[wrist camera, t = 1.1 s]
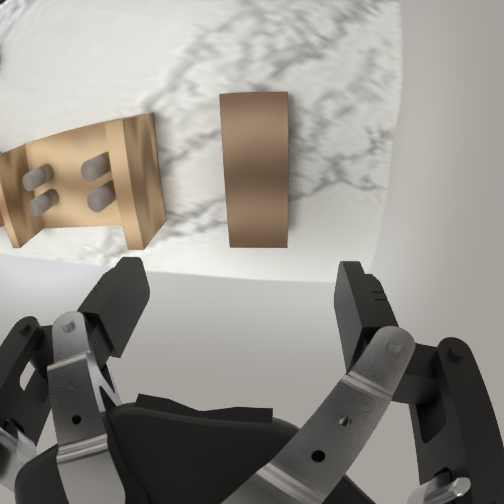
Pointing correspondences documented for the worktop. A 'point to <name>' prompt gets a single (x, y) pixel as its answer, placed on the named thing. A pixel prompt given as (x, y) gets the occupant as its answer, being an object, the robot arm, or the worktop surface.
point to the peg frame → (85, 182)
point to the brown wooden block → (256, 168)
